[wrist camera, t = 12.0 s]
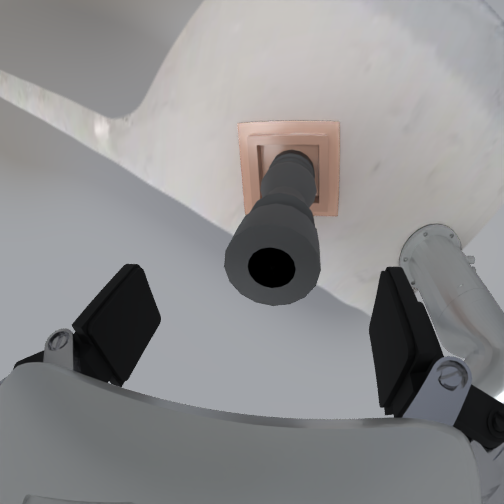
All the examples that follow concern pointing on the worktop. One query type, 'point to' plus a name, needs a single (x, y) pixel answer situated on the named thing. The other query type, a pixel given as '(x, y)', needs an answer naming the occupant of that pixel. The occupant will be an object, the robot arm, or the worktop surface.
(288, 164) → the candle holder
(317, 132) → the square tray
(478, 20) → the worktop surface
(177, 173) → the worktop surface
